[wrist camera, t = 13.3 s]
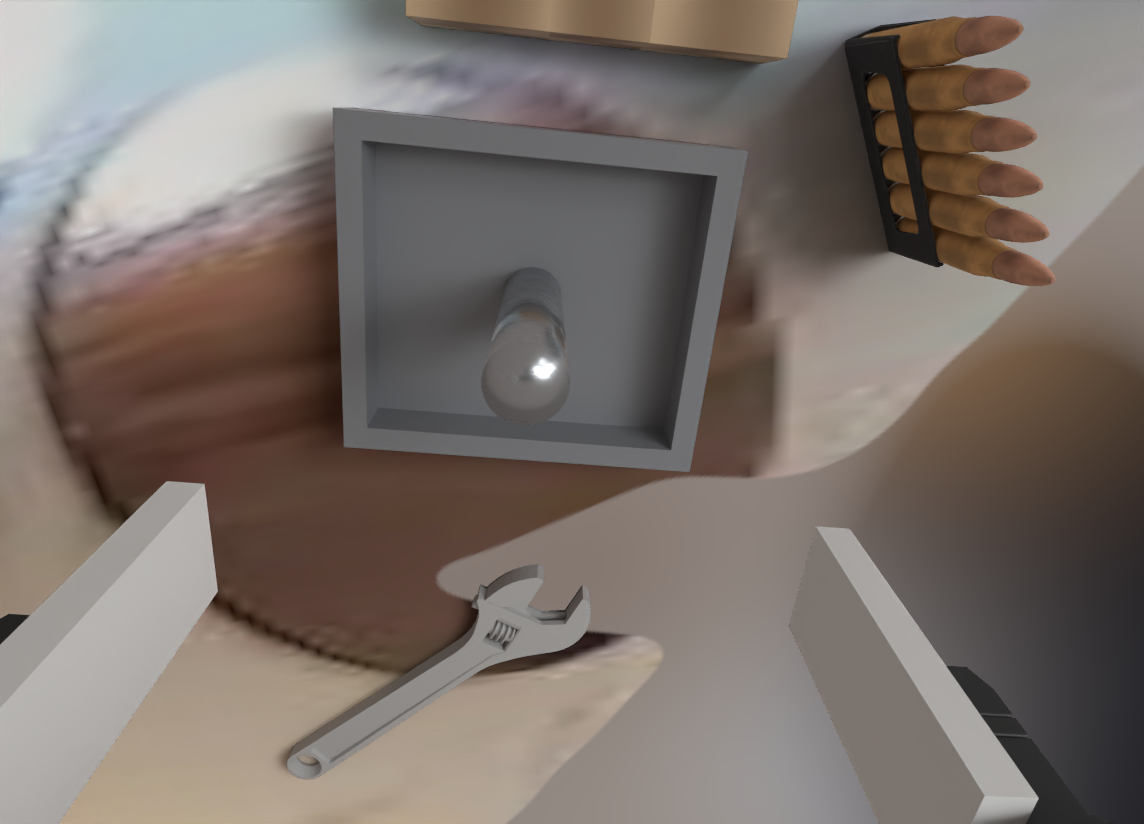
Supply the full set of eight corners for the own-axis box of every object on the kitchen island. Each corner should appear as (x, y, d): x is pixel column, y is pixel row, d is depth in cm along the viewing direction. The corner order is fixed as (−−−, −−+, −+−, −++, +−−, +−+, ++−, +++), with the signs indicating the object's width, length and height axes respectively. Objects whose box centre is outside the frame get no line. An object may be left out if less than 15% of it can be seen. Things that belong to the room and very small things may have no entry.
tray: (730, 146, 35) (748, 150, 32) (678, 443, 42) (689, 471, 38) (353, 107, 34) (332, 107, 31) (360, 419, 40) (344, 446, 37)
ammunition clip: (843, 41, 33) (987, 10, 22) (881, 24, 33) (1046, -16, 22) (889, 252, 38) (1031, 313, 27) (923, 238, 37) (1081, 294, 26)
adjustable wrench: (312, 767, 52) (304, 789, 50) (250, 713, 50) (240, 734, 48) (602, 611, 47) (604, 629, 45) (548, 543, 44) (547, 560, 43)
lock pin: (564, 270, 37) (574, 345, 23) (558, 326, 38) (565, 428, 25) (506, 264, 36) (483, 336, 23) (501, 321, 37) (478, 421, 24)
